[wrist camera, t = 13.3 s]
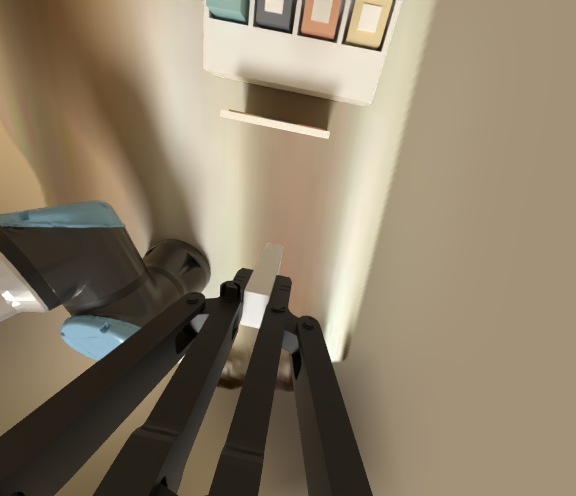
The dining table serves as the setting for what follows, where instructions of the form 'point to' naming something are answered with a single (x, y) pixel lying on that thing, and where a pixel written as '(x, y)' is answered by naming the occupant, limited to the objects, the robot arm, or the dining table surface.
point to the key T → (367, 23)
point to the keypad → (297, 56)
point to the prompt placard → (275, 123)
